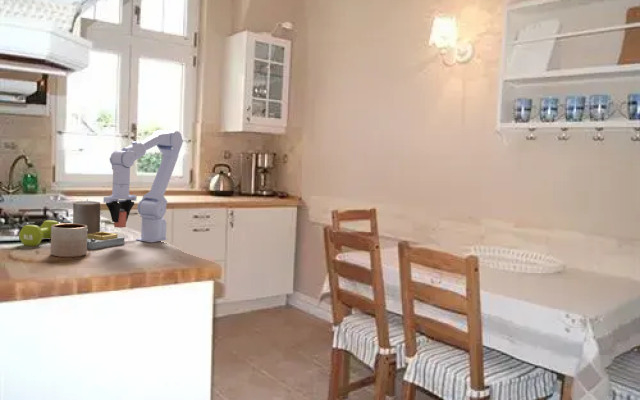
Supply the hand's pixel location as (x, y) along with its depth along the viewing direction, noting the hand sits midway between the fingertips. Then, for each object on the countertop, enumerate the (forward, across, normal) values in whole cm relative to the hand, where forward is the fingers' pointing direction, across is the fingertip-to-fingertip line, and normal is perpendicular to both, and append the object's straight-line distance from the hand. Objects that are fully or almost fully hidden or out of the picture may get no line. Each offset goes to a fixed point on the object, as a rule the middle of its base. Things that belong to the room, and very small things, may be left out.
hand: (119, 221), depth 199 cm
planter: (+9, +22, -1) cm, 24 cm away
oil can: (+2, 0, 0) cm, 2 cm away
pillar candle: (+9, -4, -20) cm, 22 cm away
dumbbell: (+9, +13, -23) cm, 28 cm away
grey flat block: (+9, +5, -7) cm, 12 cm away
